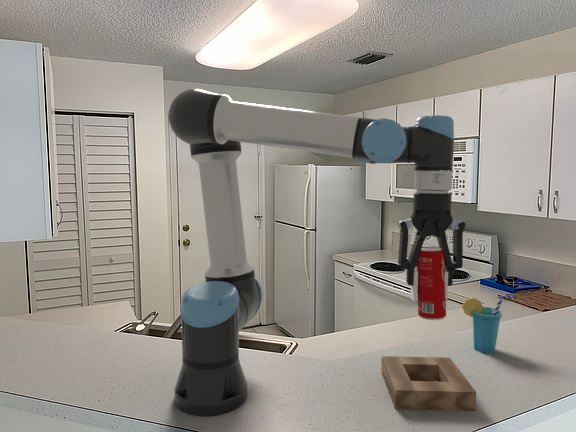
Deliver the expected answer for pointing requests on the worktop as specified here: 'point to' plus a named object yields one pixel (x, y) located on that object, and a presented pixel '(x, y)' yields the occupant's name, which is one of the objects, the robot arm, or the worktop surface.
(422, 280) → the beverage can
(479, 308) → the cup
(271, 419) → the worktop surface
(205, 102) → the robot arm
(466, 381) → the socket
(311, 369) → the worktop surface
